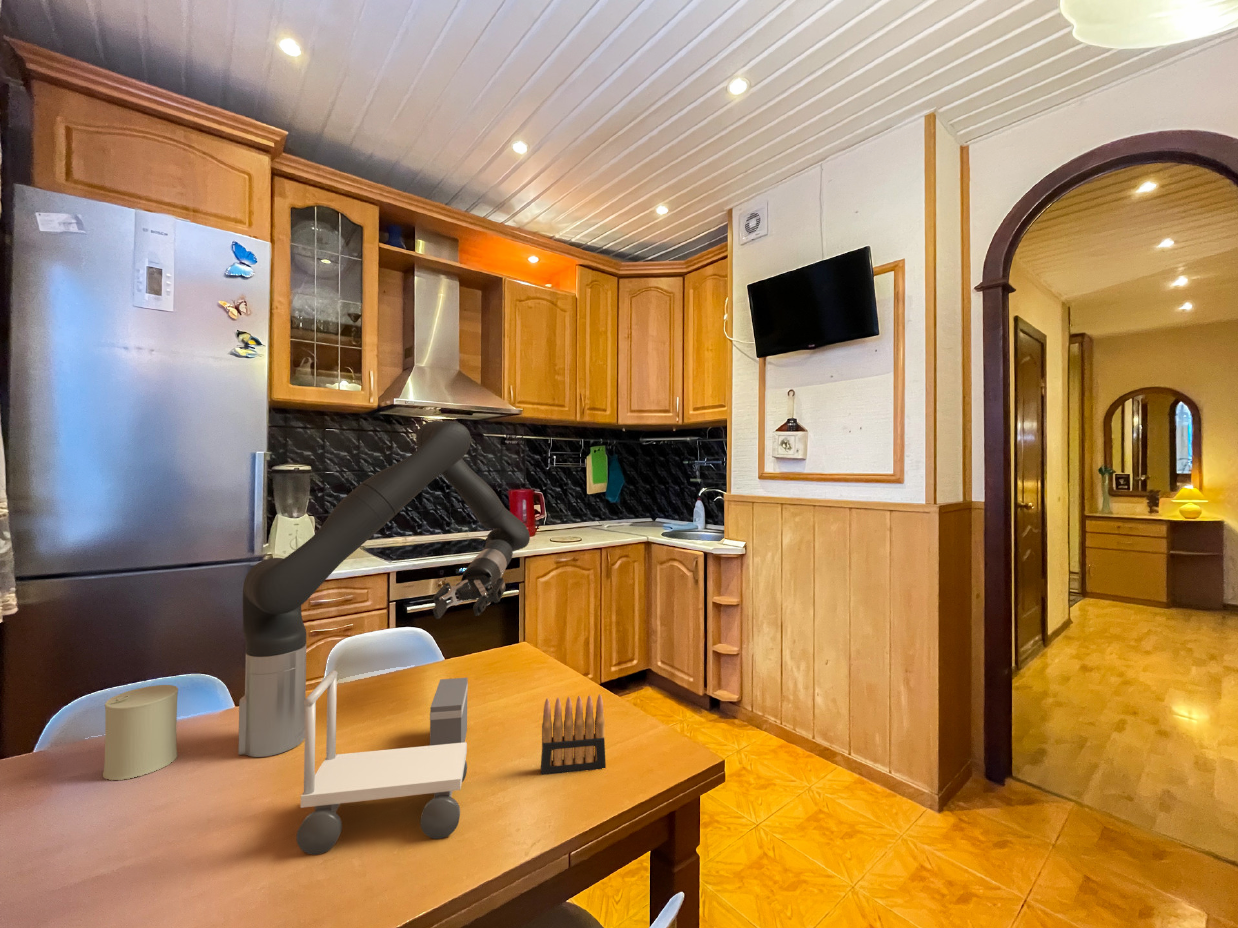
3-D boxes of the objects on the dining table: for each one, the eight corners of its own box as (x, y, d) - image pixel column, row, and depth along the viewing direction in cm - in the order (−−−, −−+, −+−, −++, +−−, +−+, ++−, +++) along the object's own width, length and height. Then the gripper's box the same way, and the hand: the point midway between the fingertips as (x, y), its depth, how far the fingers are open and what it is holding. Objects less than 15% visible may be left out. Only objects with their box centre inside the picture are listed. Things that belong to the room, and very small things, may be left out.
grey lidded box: (429, 767, 87) (430, 707, 87) (439, 732, 99) (439, 679, 99) (461, 764, 88) (461, 704, 88) (467, 729, 100) (467, 677, 100)
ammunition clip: (604, 762, 89) (604, 691, 89) (605, 768, 87) (606, 696, 87) (540, 768, 87) (541, 696, 87) (541, 775, 85) (541, 700, 85)
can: (101, 765, 87) (102, 693, 87) (173, 744, 94) (174, 677, 94) (104, 788, 81) (106, 710, 81) (181, 763, 88) (182, 692, 88)
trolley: (296, 856, 67) (298, 702, 67) (329, 797, 79) (331, 667, 79) (459, 836, 71) (460, 690, 71) (467, 782, 83) (468, 658, 83)
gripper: (452, 559, 119) (417, 600, 104) (510, 553, 116) (484, 594, 101) (460, 588, 121) (428, 631, 106) (518, 582, 119) (494, 626, 103)
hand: (455, 613), depth 104 cm, fingers open, 8 cm apart
